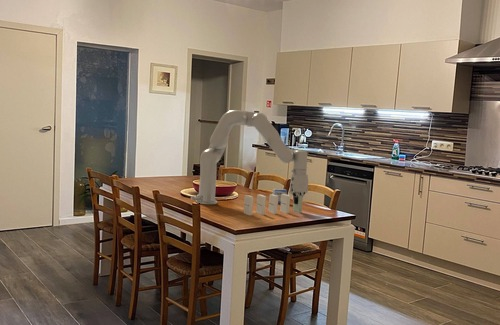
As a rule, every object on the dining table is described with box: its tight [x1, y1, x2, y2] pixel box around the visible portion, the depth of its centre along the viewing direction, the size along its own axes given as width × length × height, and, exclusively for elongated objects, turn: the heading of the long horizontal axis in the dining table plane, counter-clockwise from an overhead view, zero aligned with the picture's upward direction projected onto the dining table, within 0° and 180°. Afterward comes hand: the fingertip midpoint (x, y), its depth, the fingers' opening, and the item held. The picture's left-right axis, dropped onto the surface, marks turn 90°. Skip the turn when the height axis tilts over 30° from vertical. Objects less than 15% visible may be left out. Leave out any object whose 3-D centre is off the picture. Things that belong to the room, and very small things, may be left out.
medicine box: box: [272, 188, 288, 205], centre depth 303 cm, size 8×4×9 cm, turn 101°
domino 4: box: [279, 194, 291, 214], centre depth 275 cm, size 2×6×10 cm, turn 30°
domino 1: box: [243, 194, 254, 216], centre depth 263 cm, size 2×6×10 cm, turn 30°
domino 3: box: [267, 193, 279, 215], centre depth 271 cm, size 2×6×10 cm, turn 30°
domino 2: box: [255, 194, 267, 216], centre depth 267 cm, size 2×6×10 cm, turn 31°
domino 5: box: [292, 194, 304, 214], centre depth 279 cm, size 2×6×10 cm, turn 30°
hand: (297, 203), depth 279 cm, fingers closed on domino 5, 2 cm apart
